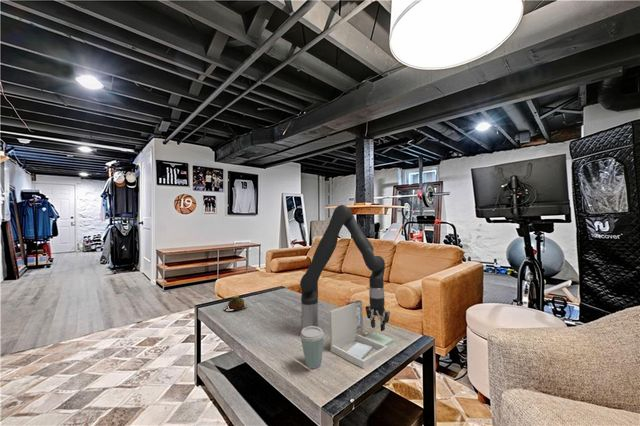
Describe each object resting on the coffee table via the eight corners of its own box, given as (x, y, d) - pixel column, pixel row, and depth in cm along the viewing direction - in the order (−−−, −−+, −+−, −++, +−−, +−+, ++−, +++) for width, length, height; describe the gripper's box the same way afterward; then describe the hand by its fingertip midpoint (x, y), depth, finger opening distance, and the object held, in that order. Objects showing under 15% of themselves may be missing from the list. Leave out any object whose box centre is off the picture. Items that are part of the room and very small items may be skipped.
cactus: (241, 303, 201) (240, 290, 201) (252, 307, 190) (252, 294, 190) (219, 309, 189) (219, 295, 189) (229, 314, 178) (229, 300, 178)
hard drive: (360, 358, 116) (372, 346, 126) (344, 352, 121) (357, 341, 131) (360, 361, 116) (372, 349, 126) (344, 356, 121) (357, 345, 131)
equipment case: (363, 368, 111) (362, 323, 111) (330, 351, 126) (329, 311, 126) (389, 352, 123) (388, 311, 123) (356, 338, 138) (355, 302, 138)
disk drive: (349, 331, 147) (348, 304, 147) (346, 329, 149) (345, 303, 149) (363, 326, 152) (362, 300, 153) (360, 324, 155) (359, 299, 155)
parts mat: (382, 349, 126) (382, 346, 126) (362, 340, 135) (362, 337, 135) (394, 342, 133) (393, 339, 133) (374, 334, 142) (374, 331, 142)
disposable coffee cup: (330, 366, 113) (329, 331, 113) (309, 375, 107) (308, 338, 107) (316, 355, 122) (315, 323, 122) (296, 363, 116) (295, 329, 116)
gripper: (393, 296, 131) (394, 331, 131) (370, 291, 142) (371, 322, 142) (384, 300, 126) (385, 335, 126) (361, 294, 137) (362, 327, 137)
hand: (377, 328), depth 134 cm, fingers open, 5 cm apart
